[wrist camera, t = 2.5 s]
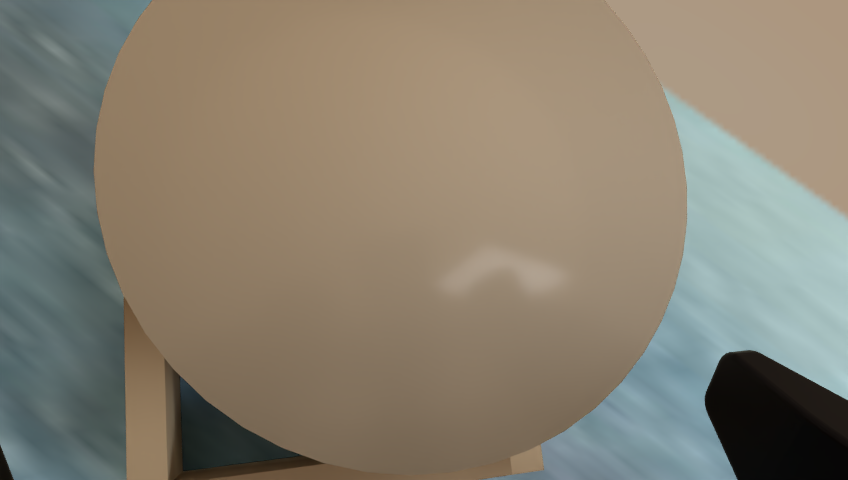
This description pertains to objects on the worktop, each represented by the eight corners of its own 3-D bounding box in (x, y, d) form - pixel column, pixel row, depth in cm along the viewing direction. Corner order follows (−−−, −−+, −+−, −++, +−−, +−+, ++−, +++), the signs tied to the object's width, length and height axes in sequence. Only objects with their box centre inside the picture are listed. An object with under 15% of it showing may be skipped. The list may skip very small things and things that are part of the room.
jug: (445, 406, 18) (735, 431, 7) (215, 433, 17) (96, 522, 5) (416, 135, 20) (613, -214, 8) (203, 140, 18) (90, -272, 7)
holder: (508, 459, 18) (543, 470, 16) (149, 510, 16) (127, 531, 14) (469, 140, 20) (495, 106, 18) (140, 148, 18) (120, 111, 16)
